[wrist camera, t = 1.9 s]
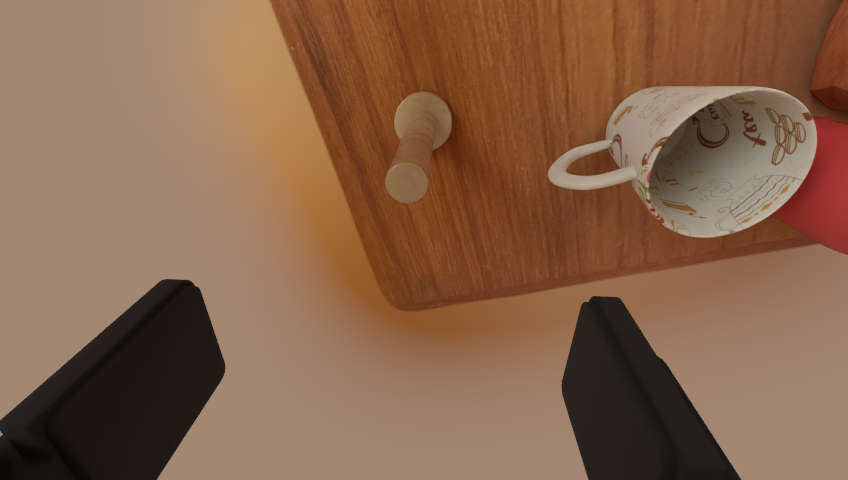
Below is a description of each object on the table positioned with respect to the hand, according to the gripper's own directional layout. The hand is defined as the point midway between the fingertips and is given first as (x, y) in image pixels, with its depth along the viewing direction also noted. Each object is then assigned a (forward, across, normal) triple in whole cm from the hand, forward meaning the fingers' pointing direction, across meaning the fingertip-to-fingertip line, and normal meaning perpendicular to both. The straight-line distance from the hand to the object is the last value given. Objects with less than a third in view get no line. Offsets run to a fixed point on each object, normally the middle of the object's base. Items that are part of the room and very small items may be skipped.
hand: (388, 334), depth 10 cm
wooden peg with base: (+24, 0, 0) cm, 24 cm away
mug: (+24, -14, +1) cm, 28 cm away
